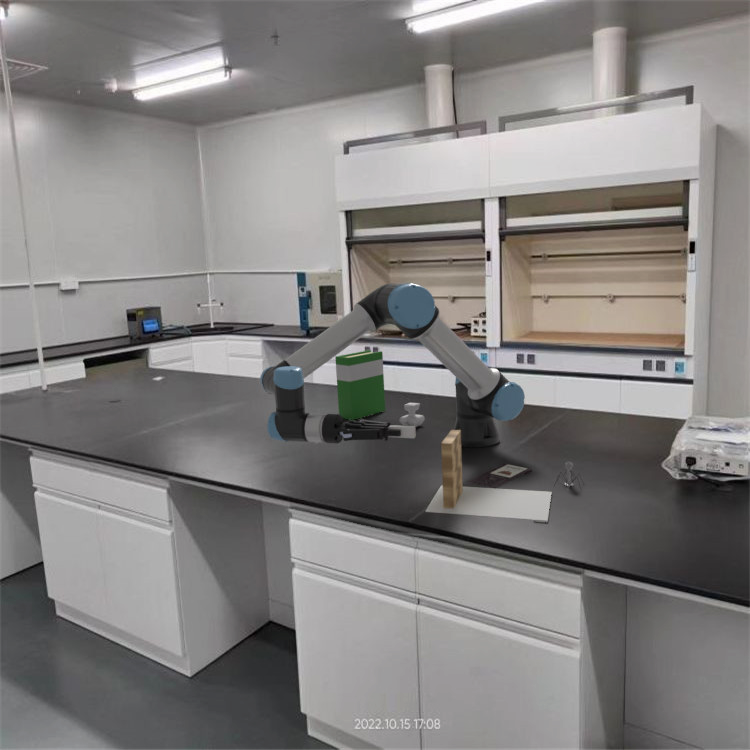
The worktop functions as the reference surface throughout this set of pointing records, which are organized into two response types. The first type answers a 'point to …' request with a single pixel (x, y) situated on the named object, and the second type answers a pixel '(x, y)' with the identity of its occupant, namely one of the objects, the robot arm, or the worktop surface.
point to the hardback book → (360, 384)
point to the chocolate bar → (499, 475)
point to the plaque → (452, 468)
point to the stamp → (412, 415)
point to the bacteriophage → (568, 474)
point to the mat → (497, 503)
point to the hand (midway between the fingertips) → (414, 432)
